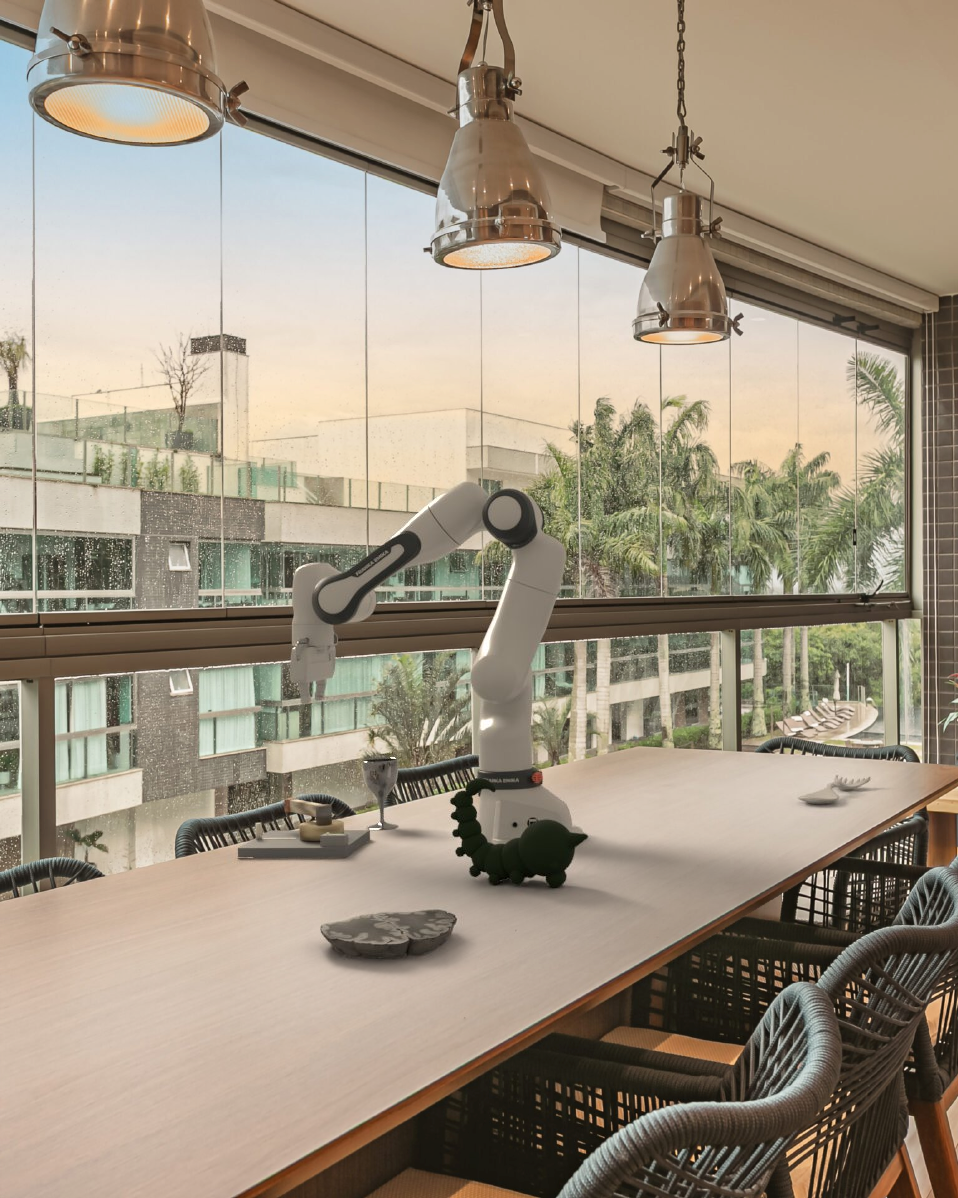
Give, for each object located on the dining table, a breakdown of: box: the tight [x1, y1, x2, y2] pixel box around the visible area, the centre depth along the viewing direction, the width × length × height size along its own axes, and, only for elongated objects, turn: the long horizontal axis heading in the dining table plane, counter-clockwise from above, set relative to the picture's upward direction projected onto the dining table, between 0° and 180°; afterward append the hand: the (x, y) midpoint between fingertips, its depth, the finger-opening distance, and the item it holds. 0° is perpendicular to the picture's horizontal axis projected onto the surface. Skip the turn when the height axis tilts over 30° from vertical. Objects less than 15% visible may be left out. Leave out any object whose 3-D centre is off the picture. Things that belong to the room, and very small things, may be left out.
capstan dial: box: [283, 797, 345, 841], centre depth 233 cm, size 17×9×6 cm, turn 40°
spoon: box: [796, 774, 871, 805], centre depth 269 cm, size 9×32×4 cm, turn 144°
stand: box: [237, 822, 371, 859], centre depth 230 cm, size 22×18×5 cm
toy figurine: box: [449, 777, 589, 888], centre depth 193 cm, size 9×19×25 cm
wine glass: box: [361, 756, 399, 831], centre depth 251 cm, size 8×8×15 cm
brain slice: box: [319, 909, 458, 960], centre depth 159 cm, size 20×17×3 cm
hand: (312, 701), depth 244 cm, fingers open, 8 cm apart
